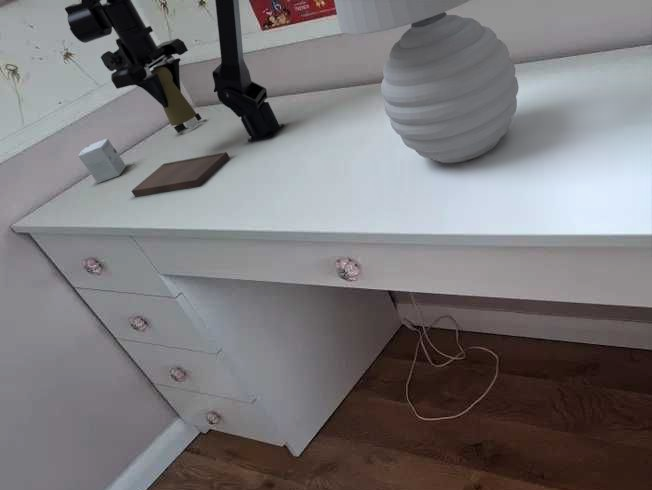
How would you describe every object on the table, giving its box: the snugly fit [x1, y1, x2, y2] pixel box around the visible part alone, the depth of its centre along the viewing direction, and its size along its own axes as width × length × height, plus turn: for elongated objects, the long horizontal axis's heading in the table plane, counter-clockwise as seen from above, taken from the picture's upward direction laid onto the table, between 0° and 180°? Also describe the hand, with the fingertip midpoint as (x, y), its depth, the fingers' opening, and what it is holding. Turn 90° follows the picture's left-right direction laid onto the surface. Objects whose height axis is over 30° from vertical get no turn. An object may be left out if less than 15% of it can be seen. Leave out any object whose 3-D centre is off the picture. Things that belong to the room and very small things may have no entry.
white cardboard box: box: [77, 138, 127, 184], centre depth 154 cm, size 6×6×7 cm
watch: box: [173, 112, 203, 134], centre depth 167 cm, size 8×5×4 cm, turn 143°
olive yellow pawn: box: [150, 67, 197, 127], centre depth 140 cm, size 6×6×11 cm
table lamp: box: [333, 0, 520, 164], centre depth 95 cm, size 25×25×40 cm
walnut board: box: [131, 151, 231, 198], centre depth 139 cm, size 18×12×2 cm, turn 74°
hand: (173, 102), depth 141 cm, fingers closed on olive yellow pawn, 4 cm apart
